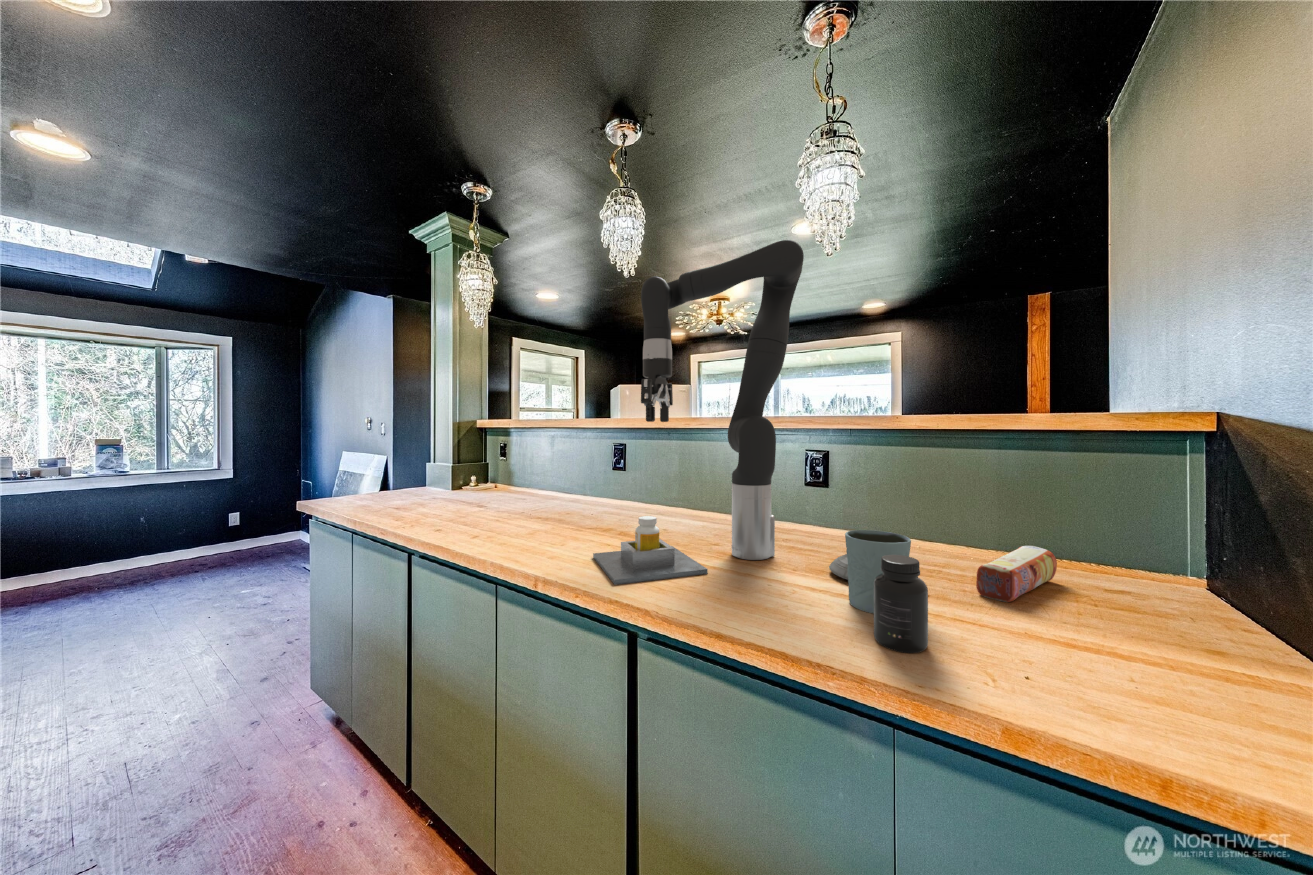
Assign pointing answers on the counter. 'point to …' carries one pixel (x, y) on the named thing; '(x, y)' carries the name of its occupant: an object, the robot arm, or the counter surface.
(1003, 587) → the snack package
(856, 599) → the grey-green cup
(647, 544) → the supplement bottle
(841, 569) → the flying saucer
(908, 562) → the supplement bottle
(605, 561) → the sleeve
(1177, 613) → the counter surface
